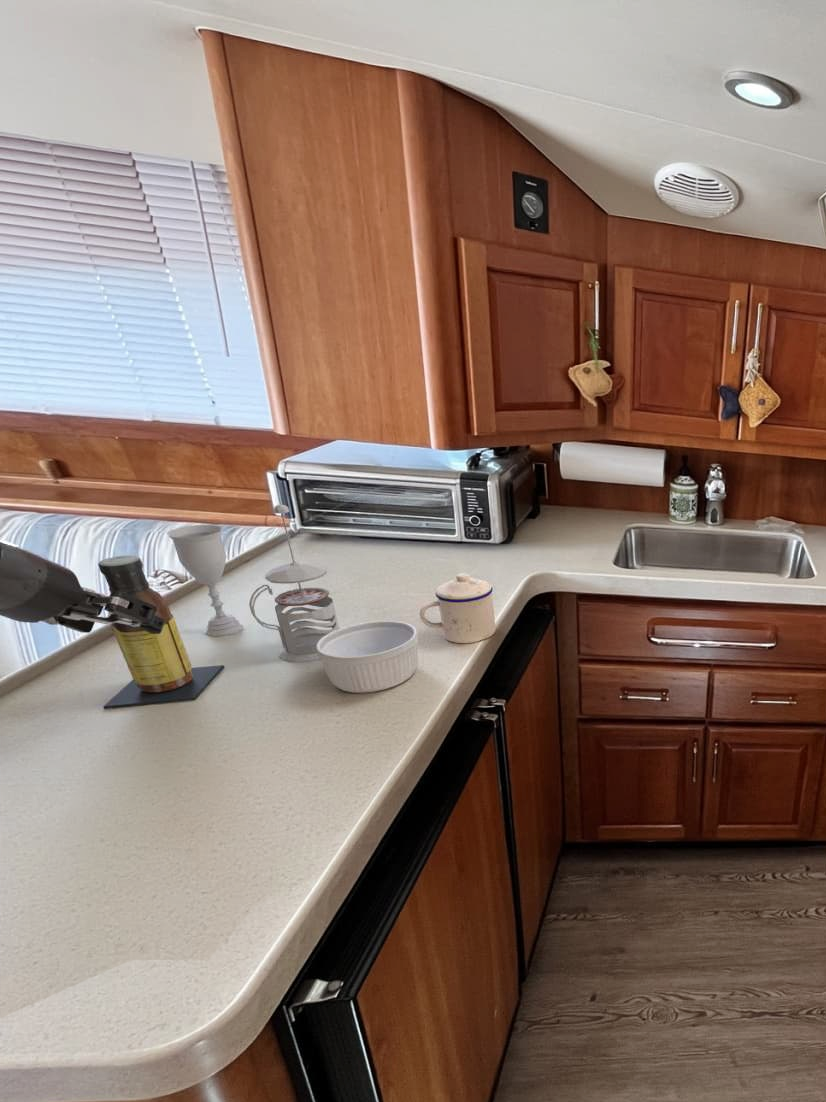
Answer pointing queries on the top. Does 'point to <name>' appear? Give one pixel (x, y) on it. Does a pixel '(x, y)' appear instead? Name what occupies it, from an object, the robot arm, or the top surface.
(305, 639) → the french press
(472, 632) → the teacup with lid
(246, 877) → the top surface
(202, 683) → the mat
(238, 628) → the chalice
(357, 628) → the ramekin
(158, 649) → the sauce bottle
